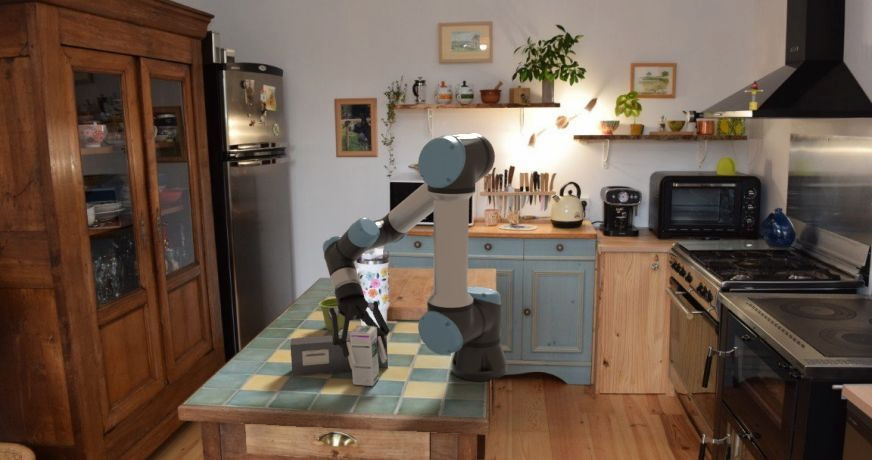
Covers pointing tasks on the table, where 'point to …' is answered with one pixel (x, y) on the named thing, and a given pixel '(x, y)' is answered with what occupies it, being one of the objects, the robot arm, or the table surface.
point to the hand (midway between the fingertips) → (369, 363)
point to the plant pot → (325, 309)
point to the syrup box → (365, 355)
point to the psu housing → (321, 356)
